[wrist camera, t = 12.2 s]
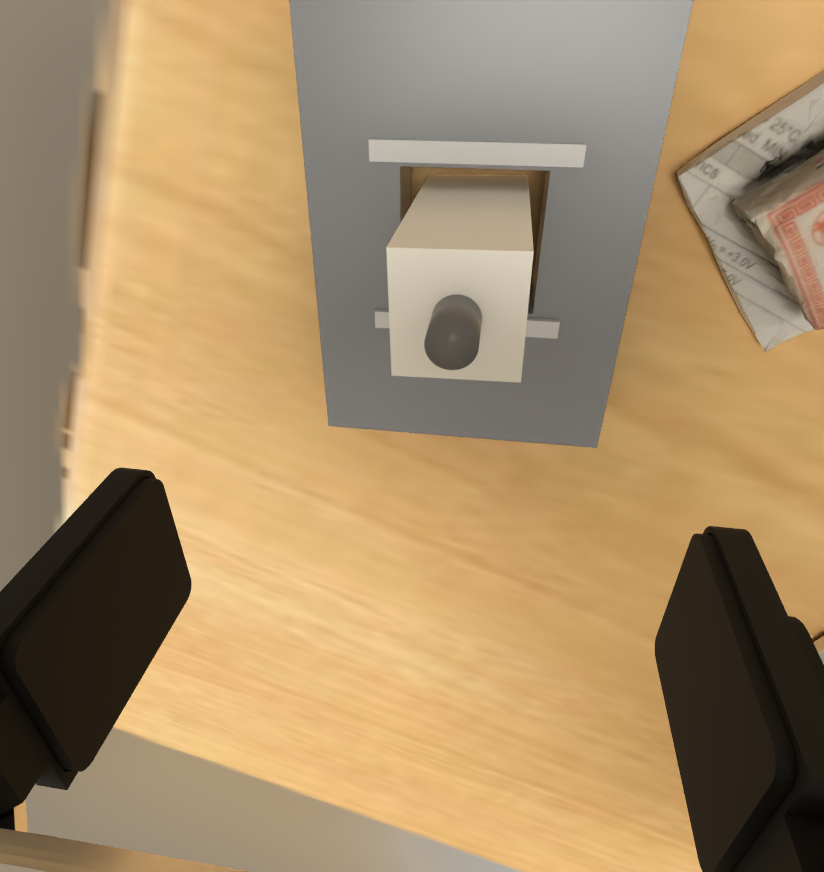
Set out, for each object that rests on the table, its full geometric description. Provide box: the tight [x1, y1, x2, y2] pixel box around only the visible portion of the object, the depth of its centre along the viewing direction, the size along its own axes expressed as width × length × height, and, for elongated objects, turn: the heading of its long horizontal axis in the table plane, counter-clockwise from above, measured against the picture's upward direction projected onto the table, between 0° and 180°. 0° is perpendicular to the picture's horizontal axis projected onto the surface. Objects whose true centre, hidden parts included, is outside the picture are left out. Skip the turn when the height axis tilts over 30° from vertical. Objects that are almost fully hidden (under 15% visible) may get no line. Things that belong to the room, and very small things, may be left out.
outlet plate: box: [289, 0, 693, 448], centre depth 27 cm, size 14×20×3 cm
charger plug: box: [386, 174, 534, 383], centre depth 23 cm, size 4×4×13 cm
